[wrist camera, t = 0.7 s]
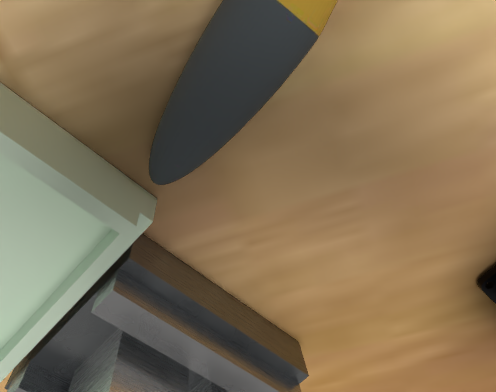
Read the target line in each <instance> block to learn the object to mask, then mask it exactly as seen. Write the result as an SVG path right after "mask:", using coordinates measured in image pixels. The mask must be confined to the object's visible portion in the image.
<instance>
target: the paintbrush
mask: <svg viewBox="0 0 496 392" xmlns="http://www.w3.org/2000/svg"><path fill="white" fill-rule="evenodd" d="M336 2H337V0H223V1H222V3H221V4H220V6H219V8H218V9H217V11H216V13H215V14H214V16H213V17H212V19H211V21H210V22H209V24H208V26H207V27H206V29H205V31H204V33H203V34H202V36H201V38H200V40H199V41H198V43H197V45H196V47H195V49H194V51H193V52H192V54H191V56H190V58H189V60H188V62H187V64H186V66H185V68H184V70H183V72H182V74H181V76H180V78H179V80H178V82H177V84H176V86H175V88H174V90H173V92H172V95H171V97H170V99H169V102H168V104H167V106H166V108H165V111H164V113H163V115H162V118H161V120H160V123H159V126H158V128H157V131H156V134H155V137H154V141H153V144H152V148H151V153H150V160H149V174H150V178H151V180H152V181H153V182H154V183H155V184H158V185H165V184H169V183H171V182H174V181H176V180H178V179H180V178H182V177H184V176H186V175H187V174H189V173H190V172H192V171H193V170H195V169H196V168H197V167H199V166H200V165H201V164H203V163H204V162H205V161H206V160H208V159H209V158H210V157H211V156H212V155H214V154H215V153H216V152H217V151H218V150H219V149H220V148H222V147H223V146H224V145H225V144H226V143H227V142H228V141H229V140H230V139H231V138H232V137H233V136H234V135H235V134H236V133H238V132H239V131H240V130H241V128H242V127H243V126H244V125H245V124H246V123H247V122H248V121H249V120H250V119H251V118H252V117H253V116H254V115H255V114H256V113H257V112H258V111H259V110H260V109H261V108H262V107H263V106H264V104H265V103H266V102H267V101H268V100H269V99H270V98H271V97H272V96H273V94H274V93H275V92H276V91H277V90H278V89H279V88H280V87H281V85H282V84H283V83H284V82H285V80H286V79H287V78H288V77H289V76H290V74H291V73H292V72H293V71H294V69H295V68H296V67H297V66H298V64H299V63H300V62H301V61H302V59H303V58H304V57H305V55H306V54H307V53H308V51H309V50H310V49H311V47H312V46H313V45H314V43H315V42H316V40H317V39H318V36H319V35H320V34H321V32H322V30H323V28H324V26H325V24H326V22H327V20H328V18H329V16H330V14H331V12H332V10H333V8H334V6H335V4H336Z"/></svg>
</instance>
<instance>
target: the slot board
mask: <svg viewBox="0 0 496 392" xmlns="http://www.w3.org/2000/svg"><path fill="white" fill-rule="evenodd" d="M117 328H119V329H121V330H122V331H124V332H126V333H128V334H129V335H131V336H133V337H135V338H136V339H138V340H140V341H142V342H143V343H145V344H147V345H149V346H150V347H152V348H154V349H156V350H157V351H159V352H161V353H163V354H164V355H166V356H168V357H169V358H171V359H173V360H175V361H176V362H178V363H180V364H182V365H183V366H185V367H187V368H189V382H188V392H189V391H190V390H191V389H192V388H193V387H194V386H195V385H197V384H198V383H199V382H200V381H201V380H202V379H203V378H206V379H208V380H210V381H211V382H213V383H215V384H217V385H218V386H220V387H222V388H224V389H225V390H227V391H229V392H301V389H300V386H299V384H300V383H301V382H302V381H303V380H304V379H306V378H307V377H308V376H309V375H308V371H307V368H306V365H305V361H304V358H303V355H302V351H301V348H300V345H299V342H298V341H296V340H295V339H293V338H292V337H290V336H289V335H288V334H286V333H285V332H283V331H282V330H280V329H279V328H277V327H276V326H275V325H273V324H272V323H270V322H269V321H267V320H266V319H264V318H263V317H262V316H260V315H259V314H257V313H256V312H254V311H253V310H251V309H250V308H249V307H247V306H246V305H244V304H243V303H241V302H240V301H238V300H237V299H236V298H234V297H233V296H231V295H230V294H228V293H227V292H225V291H224V290H222V289H221V288H220V287H218V286H217V285H215V284H214V283H212V282H211V281H209V280H208V279H207V278H205V277H204V276H202V275H201V274H199V273H198V272H196V271H195V270H194V269H192V268H191V267H189V266H188V265H186V264H185V263H183V262H182V261H181V260H179V259H178V258H176V257H175V256H173V255H172V254H170V253H169V252H168V251H166V250H165V249H163V248H162V247H160V246H159V245H157V244H156V243H155V242H153V241H152V240H150V239H149V238H147V237H146V236H144V235H143V234H141V235H140V236H139V237H138V238H137V239H136V240H135V241H134V242H133V243H132V245H131V246H130V247H129V248H128V249H127V250H126V251H125V252H124V253H123V254H122V255H121V256H120V257H119V258H118V259H117V260H116V261H115V262H114V263H113V264H112V266H111V267H110V268H109V269H108V270H107V271H106V272H105V273H104V274H103V275H102V276H101V277H100V278H99V279H98V280H97V281H96V282H95V283H94V284H93V286H92V287H91V288H90V289H89V290H88V291H87V292H86V293H85V294H84V295H83V296H82V297H81V298H80V299H79V300H78V301H77V302H76V303H75V304H74V306H73V307H72V308H71V309H70V310H69V311H68V312H67V313H66V314H65V315H64V316H63V317H62V318H61V319H60V320H59V321H58V322H57V323H56V324H55V326H54V327H53V328H52V329H51V330H50V331H49V332H48V333H47V334H46V335H45V336H44V337H43V338H42V339H41V340H40V341H39V342H38V343H37V344H36V346H35V347H34V348H33V349H32V350H31V351H30V352H29V353H28V354H27V355H26V356H25V357H24V358H23V359H22V360H21V361H20V362H19V363H18V364H17V365H16V367H15V368H14V370H13V372H12V374H11V376H10V378H9V380H8V382H7V384H6V386H5V389H7V390H8V391H7V392H68V390H69V387H70V384H71V381H72V378H73V375H74V372H75V370H76V369H77V368H78V367H79V366H80V365H81V364H82V363H83V362H84V361H85V360H86V359H87V358H88V357H89V356H90V355H91V354H92V353H93V352H94V351H95V350H96V349H97V348H98V347H99V346H100V345H101V344H102V343H103V342H104V341H105V340H106V339H107V338H108V337H109V336H110V335H111V334H112V333H113V332H114V331H115V330H116V329H117Z"/></svg>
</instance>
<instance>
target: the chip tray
mask: <svg viewBox="0 0 496 392" xmlns="http://www.w3.org/2000/svg"><path fill="white" fill-rule="evenodd" d="M156 204H157V198H156V197H154V196H153V195H152V194H150V193H149V192H147V191H146V190H145V189H143V188H142V187H141V186H139V185H138V184H137V183H135V182H134V181H133V180H131V179H130V178H129V177H127V176H126V175H125V174H123V173H122V172H121V171H119V170H118V169H116V168H115V167H114V166H112V165H111V164H110V163H108V162H107V161H106V160H104V159H103V158H102V157H100V156H99V155H98V154H96V153H95V152H94V151H92V150H91V149H90V148H88V147H87V146H85V145H84V144H83V143H81V142H80V141H79V140H77V139H76V138H75V137H73V136H72V135H71V134H69V133H68V132H67V131H65V130H64V129H63V128H61V127H60V126H59V125H57V124H56V123H54V122H53V121H52V120H50V119H49V118H48V117H46V116H45V115H44V114H42V113H41V112H40V111H38V110H37V109H36V108H34V107H33V106H32V105H30V104H29V103H28V102H26V101H25V100H23V99H22V98H21V97H19V96H18V95H17V94H15V93H14V92H13V91H11V90H10V89H9V88H7V87H6V86H5V85H3V84H2V83H1V82H0V382H1V381H2V380H3V379H4V378H5V377H6V376H7V375H8V374H9V373H10V372H11V371H12V370H13V369H14V368H15V367H16V365H17V364H18V363H19V362H20V361H21V360H22V359H23V358H24V357H25V356H26V355H27V354H28V353H29V352H30V351H31V350H32V349H33V348H34V347H35V346H36V344H37V343H38V342H39V341H40V340H41V339H42V338H43V337H44V336H45V335H46V334H47V333H48V332H49V331H50V330H51V329H52V328H53V327H54V326H55V324H56V323H57V322H58V321H59V320H60V319H61V318H62V317H63V316H64V315H65V314H66V313H67V312H68V311H69V310H70V309H71V308H72V307H73V306H74V304H75V303H76V302H77V301H78V300H79V299H80V298H81V297H82V296H83V295H84V294H85V293H86V292H87V291H88V290H89V289H90V288H91V287H92V286H93V284H94V283H95V282H96V281H97V280H98V279H99V278H100V277H101V276H102V275H103V274H104V273H105V272H106V271H107V270H108V269H109V268H110V267H111V266H112V264H113V263H114V262H115V261H116V260H117V259H118V258H119V257H120V256H121V255H122V254H123V253H124V252H125V251H126V250H127V249H128V248H129V247H130V246H131V245H132V243H133V242H134V241H135V240H136V239H137V238H138V237H139V236H140V235H141V234H142V233H143V232H144V231H145V230H146V229H147V228H148V227H149V226H150V225H151V223H152V222H153V219H154V214H155V209H156Z"/></svg>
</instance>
